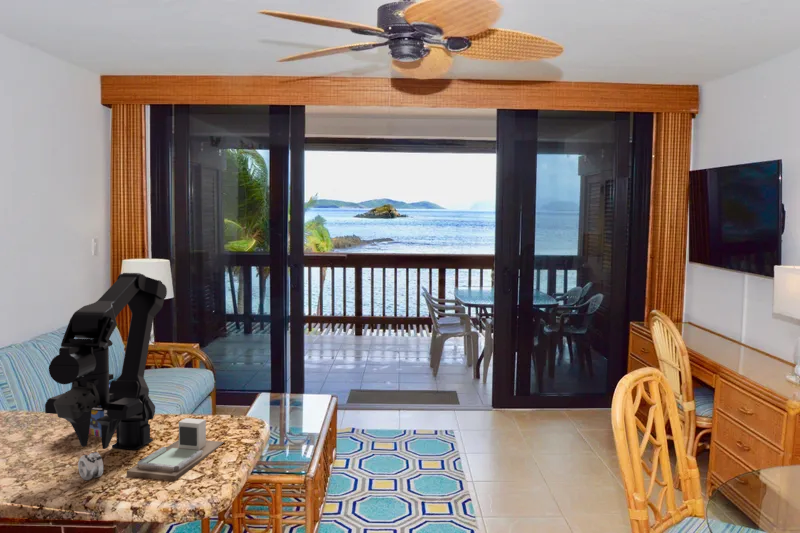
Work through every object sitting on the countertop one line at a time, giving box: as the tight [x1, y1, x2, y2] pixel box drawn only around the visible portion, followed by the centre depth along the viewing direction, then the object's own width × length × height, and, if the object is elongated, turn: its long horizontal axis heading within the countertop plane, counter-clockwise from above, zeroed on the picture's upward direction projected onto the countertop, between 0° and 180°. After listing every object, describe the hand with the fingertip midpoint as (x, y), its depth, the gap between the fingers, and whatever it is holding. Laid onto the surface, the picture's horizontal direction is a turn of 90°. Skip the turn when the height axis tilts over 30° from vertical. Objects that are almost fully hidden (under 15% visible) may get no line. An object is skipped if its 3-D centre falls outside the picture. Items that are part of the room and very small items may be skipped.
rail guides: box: [137, 446, 202, 472], centre depth 128 cm, size 10×10×1 cm
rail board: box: [126, 439, 225, 481], centre depth 131 cm, size 11×20×1 cm, turn 168°
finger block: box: [178, 417, 207, 450], centre depth 136 cm, size 5×3×6 cm
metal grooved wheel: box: [77, 451, 104, 481], centre depth 122 cm, size 5×3×5 cm, turn 51°
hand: (94, 447), depth 123 cm, fingers open, 4 cm apart
